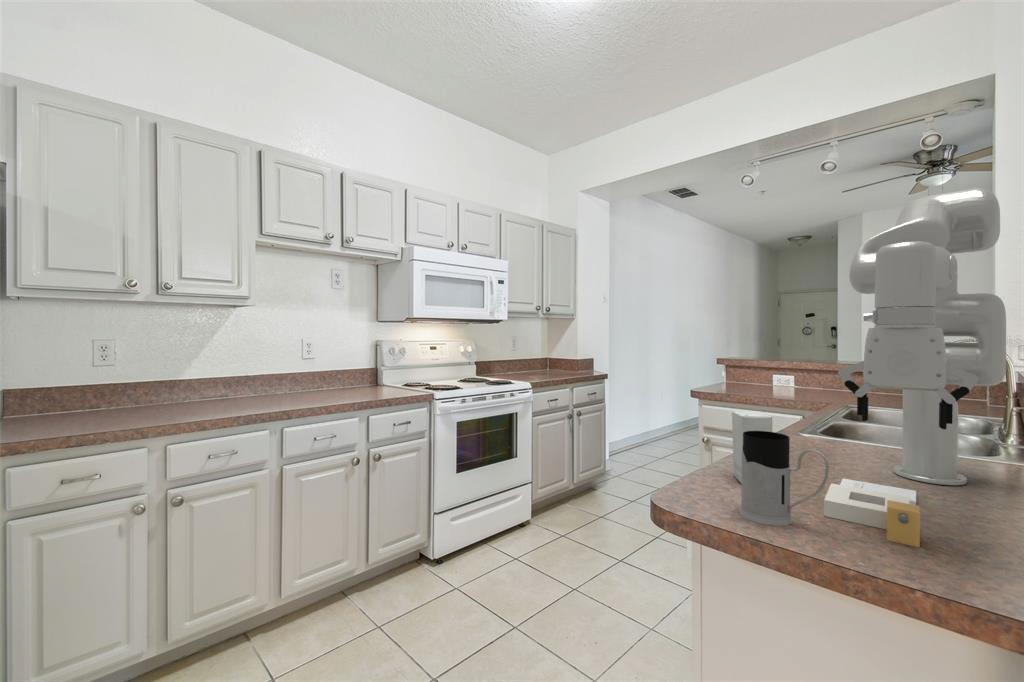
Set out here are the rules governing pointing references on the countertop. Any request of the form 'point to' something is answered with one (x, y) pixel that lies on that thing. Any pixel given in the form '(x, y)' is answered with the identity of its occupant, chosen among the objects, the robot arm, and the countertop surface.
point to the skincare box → (741, 425)
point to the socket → (859, 505)
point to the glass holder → (769, 478)
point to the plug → (903, 523)
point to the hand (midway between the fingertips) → (902, 423)
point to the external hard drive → (881, 489)
